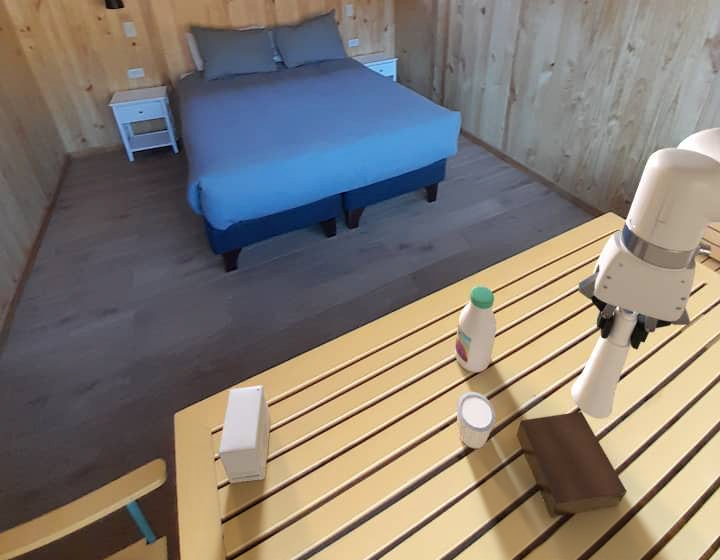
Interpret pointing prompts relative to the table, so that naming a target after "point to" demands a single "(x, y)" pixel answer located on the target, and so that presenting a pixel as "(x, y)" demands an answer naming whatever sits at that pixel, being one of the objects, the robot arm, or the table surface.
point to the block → (569, 464)
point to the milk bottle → (476, 331)
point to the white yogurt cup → (474, 419)
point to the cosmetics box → (245, 435)
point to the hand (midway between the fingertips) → (618, 334)
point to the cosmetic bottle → (605, 367)
